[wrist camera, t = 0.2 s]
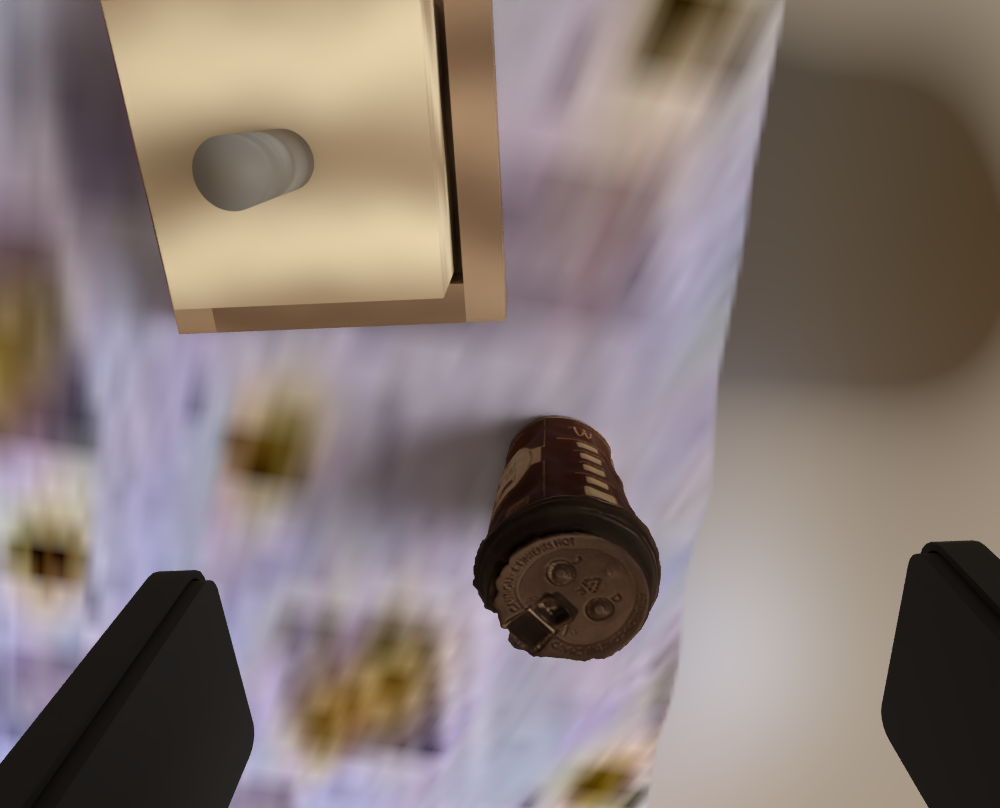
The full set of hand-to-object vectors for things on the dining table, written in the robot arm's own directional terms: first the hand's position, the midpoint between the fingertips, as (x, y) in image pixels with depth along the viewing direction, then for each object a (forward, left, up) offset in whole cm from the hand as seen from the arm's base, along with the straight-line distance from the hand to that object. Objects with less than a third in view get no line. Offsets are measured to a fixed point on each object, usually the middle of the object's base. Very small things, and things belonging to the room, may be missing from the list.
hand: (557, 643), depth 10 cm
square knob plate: (-5, -10, -31) cm, 32 cm away
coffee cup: (+13, +1, -31) cm, 33 cm away
